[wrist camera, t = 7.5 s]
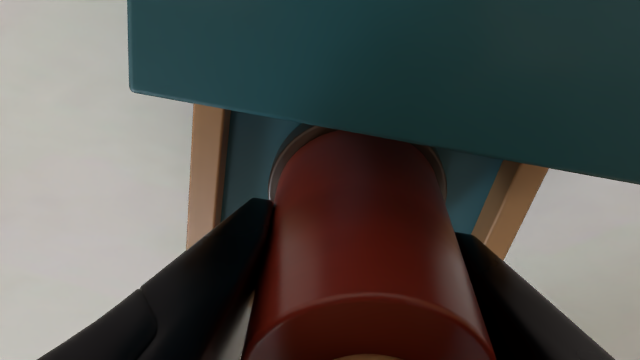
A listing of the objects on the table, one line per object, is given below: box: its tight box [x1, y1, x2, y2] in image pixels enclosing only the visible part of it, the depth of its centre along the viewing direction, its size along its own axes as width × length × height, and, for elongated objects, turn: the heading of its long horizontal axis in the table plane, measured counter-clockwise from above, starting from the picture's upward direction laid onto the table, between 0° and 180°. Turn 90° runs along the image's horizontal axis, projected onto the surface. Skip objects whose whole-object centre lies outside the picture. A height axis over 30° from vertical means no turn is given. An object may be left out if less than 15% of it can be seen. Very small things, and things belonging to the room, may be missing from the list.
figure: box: [241, 123, 497, 360], centre depth 7 cm, size 4×4×8 cm
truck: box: [127, 0, 640, 260], centre depth 9 cm, size 12×7×8 cm, turn 170°
